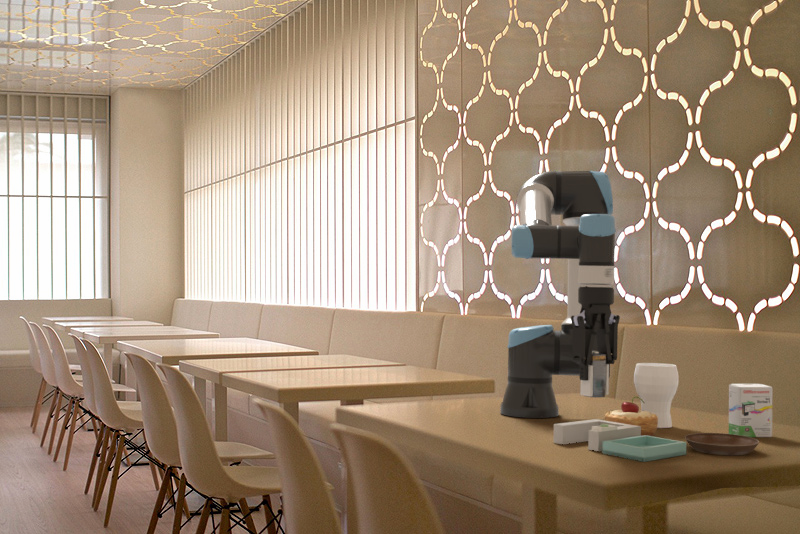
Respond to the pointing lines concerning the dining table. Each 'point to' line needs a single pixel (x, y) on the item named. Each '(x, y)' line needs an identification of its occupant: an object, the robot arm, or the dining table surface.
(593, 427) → the white hook bar
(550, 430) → the dining table surface
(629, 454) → the trough
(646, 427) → the pastry
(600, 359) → the cell
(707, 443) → the saucer
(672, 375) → the cup
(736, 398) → the ink box
